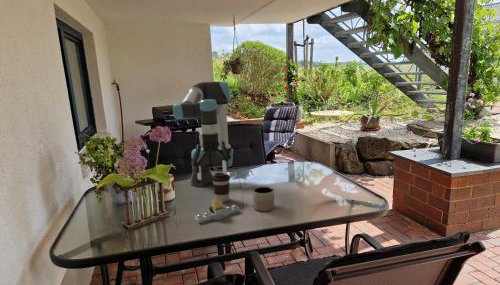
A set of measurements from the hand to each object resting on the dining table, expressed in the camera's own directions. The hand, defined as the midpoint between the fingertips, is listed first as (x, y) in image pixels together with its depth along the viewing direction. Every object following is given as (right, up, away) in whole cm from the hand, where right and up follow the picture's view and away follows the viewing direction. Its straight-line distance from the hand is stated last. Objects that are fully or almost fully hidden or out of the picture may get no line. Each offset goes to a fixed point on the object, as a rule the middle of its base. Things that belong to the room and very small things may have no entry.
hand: (212, 176), depth 152 cm
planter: (+25, -17, +10) cm, 32 cm away
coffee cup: (+3, -16, +23) cm, 28 cm away
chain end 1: (-2, -20, -1) cm, 20 cm away
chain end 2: (+7, -19, +5) cm, 20 cm away
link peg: (+2, -19, +2) cm, 20 cm away
